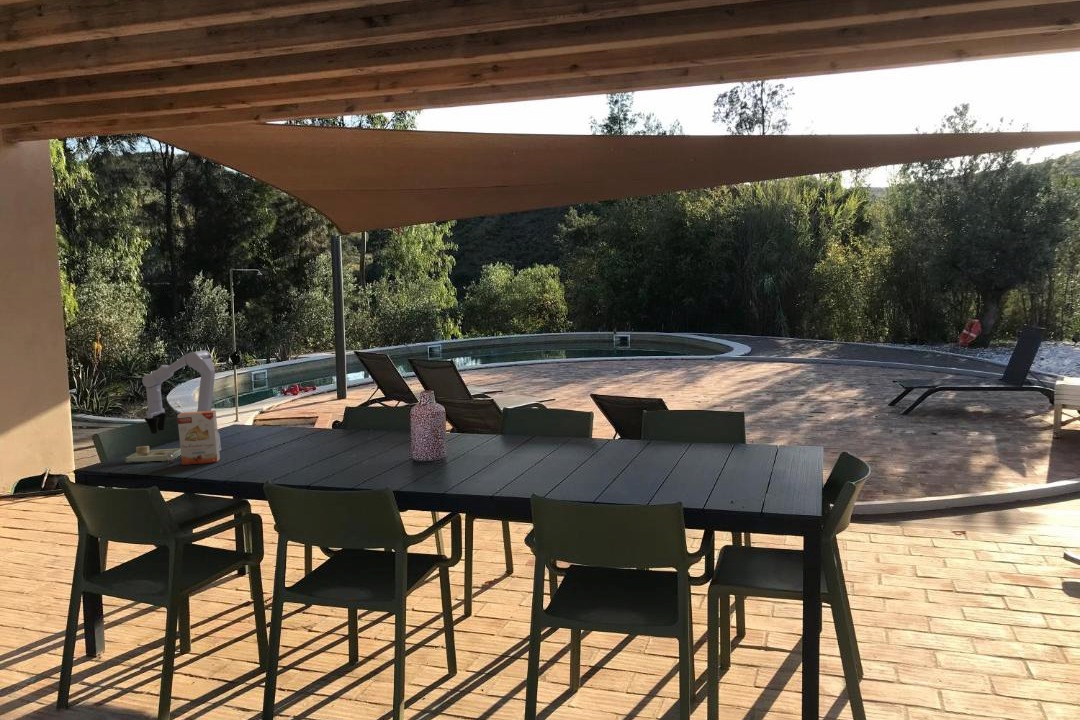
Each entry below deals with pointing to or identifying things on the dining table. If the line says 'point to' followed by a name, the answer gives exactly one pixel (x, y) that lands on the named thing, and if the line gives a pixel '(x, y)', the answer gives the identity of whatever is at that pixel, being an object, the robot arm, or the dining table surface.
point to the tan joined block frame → (148, 451)
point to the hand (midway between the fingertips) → (157, 431)
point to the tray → (154, 458)
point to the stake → (169, 457)
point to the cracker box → (198, 437)
